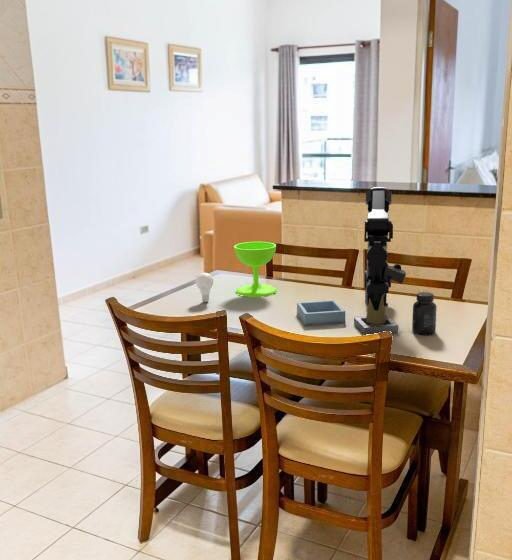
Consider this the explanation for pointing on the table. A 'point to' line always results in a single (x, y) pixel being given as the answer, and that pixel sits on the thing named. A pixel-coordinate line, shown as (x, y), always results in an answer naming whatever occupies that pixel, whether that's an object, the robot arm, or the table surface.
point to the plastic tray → (320, 313)
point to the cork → (376, 313)
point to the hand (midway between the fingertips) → (376, 308)
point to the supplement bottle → (424, 314)
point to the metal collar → (375, 326)
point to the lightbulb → (204, 285)
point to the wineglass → (255, 266)
